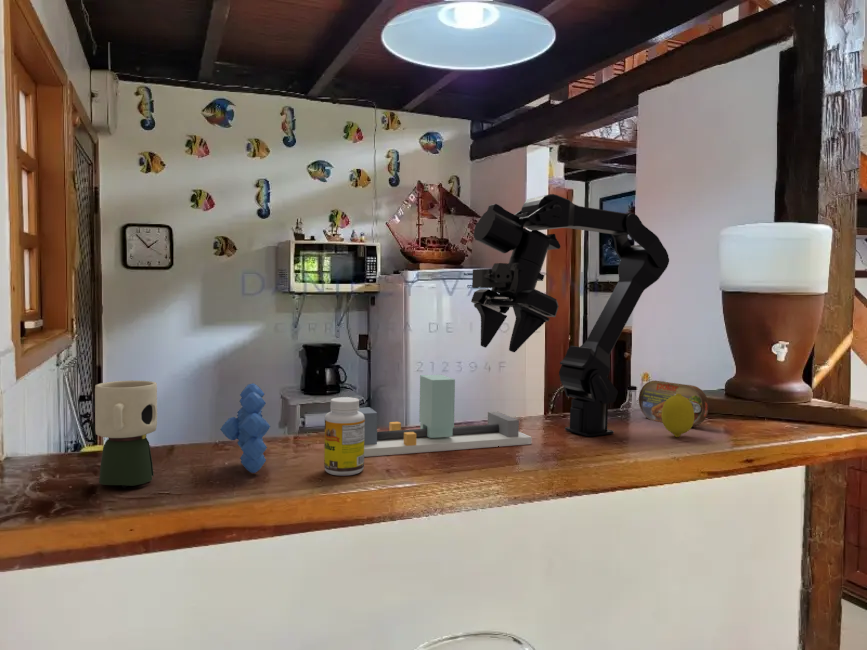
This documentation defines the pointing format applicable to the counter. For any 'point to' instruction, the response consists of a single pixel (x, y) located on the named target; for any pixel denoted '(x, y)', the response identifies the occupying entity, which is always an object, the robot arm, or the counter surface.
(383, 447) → the cord rig
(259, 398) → the grapes
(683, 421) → the lemon
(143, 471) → the character mug
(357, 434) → the supplement bottle
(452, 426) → the sleeve
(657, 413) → the tin
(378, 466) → the counter surface
